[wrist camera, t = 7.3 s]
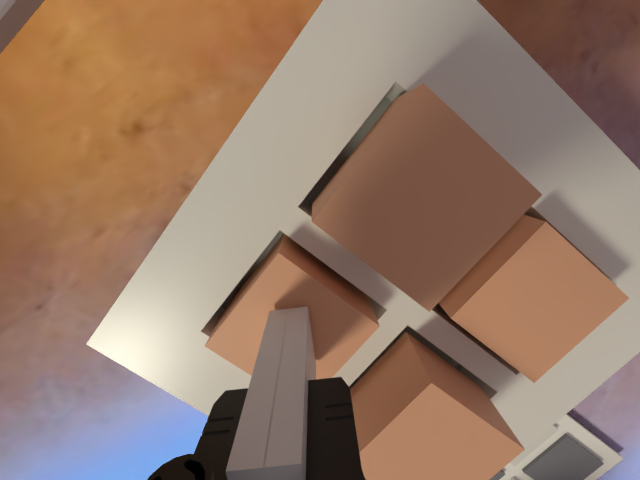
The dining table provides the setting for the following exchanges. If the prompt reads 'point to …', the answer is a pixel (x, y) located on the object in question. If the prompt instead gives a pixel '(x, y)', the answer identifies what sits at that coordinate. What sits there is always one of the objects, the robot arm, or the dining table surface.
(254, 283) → the button
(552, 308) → the button
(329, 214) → the button
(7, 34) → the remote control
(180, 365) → the board
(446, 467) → the button
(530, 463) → the card
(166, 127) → the dining table surface
